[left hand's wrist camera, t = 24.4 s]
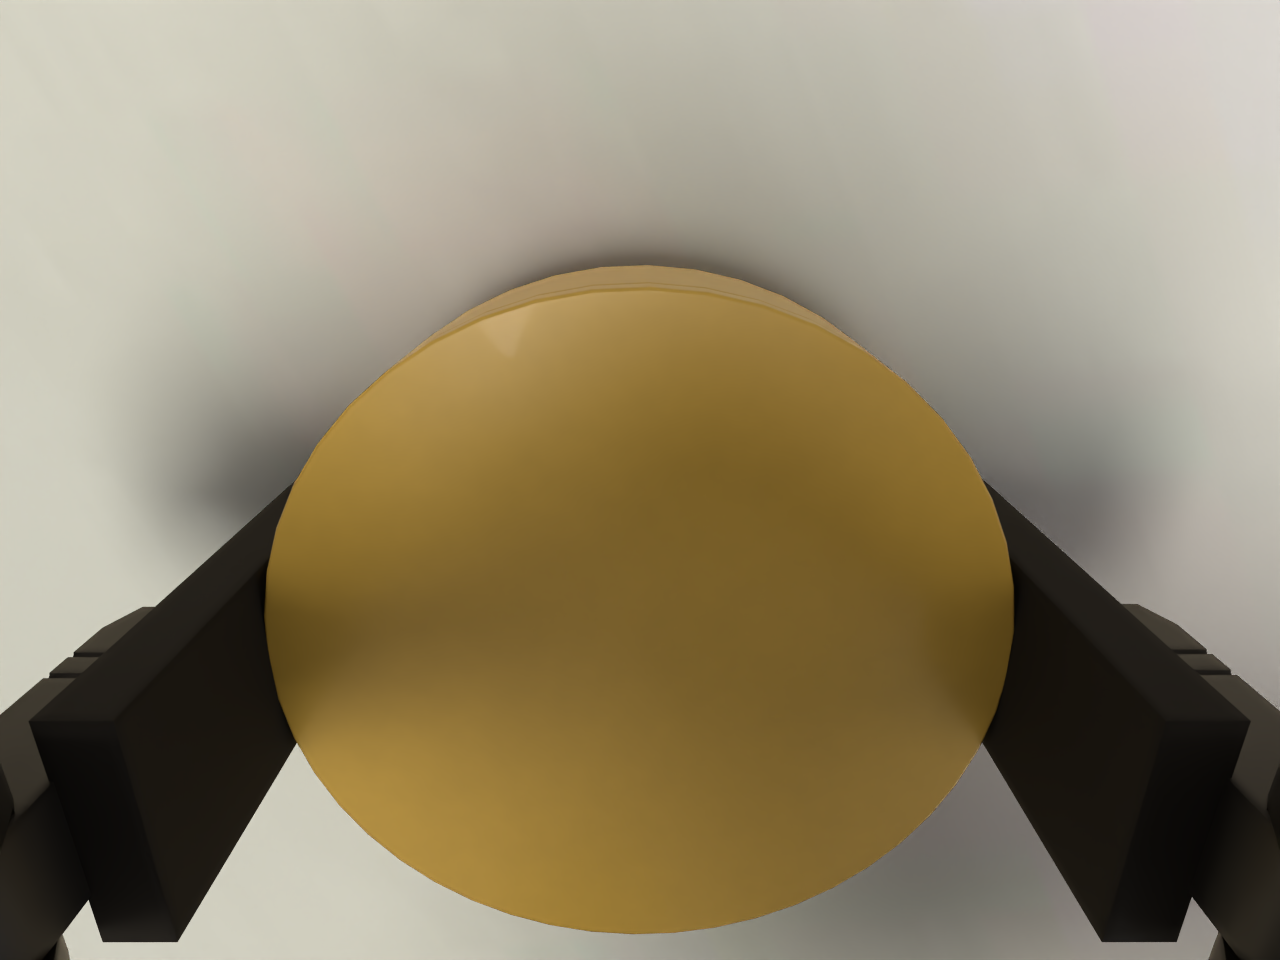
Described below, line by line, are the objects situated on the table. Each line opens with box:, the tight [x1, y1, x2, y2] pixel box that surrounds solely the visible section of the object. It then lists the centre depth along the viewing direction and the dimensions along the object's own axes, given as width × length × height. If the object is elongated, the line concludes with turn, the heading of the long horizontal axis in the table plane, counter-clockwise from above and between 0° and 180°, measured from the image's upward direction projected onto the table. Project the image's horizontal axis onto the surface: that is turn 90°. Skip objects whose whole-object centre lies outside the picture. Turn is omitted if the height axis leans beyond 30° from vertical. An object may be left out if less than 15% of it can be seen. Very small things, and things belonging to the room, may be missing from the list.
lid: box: [264, 265, 1014, 934], centre depth 11 cm, size 9×9×2 cm
